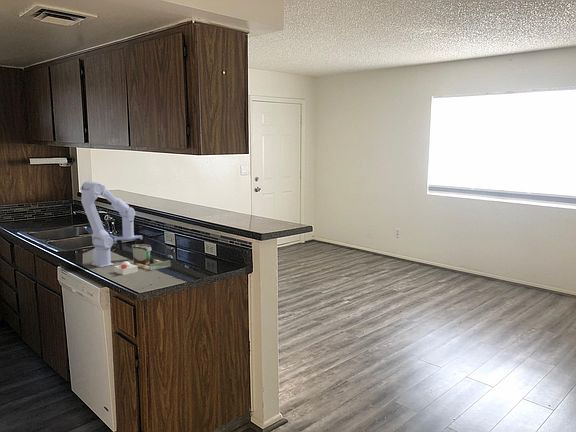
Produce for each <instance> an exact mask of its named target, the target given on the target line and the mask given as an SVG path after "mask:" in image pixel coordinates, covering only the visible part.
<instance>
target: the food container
mask: <svg viewBox="0 0 576 432" xmlns="http://www.w3.org/2000/svg"><path fill="white" fill-rule="evenodd" d="M131 249H132V256H133V257H132V258H133V265H135V263H139V264H143V265H146V266H150V264H151V262H150V260H151V259H150V258H151V251H152V247H151V245H150V244H145V243H142V244H141V243H140V244H136V245H135V244H132V245H131Z"/></svg>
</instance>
